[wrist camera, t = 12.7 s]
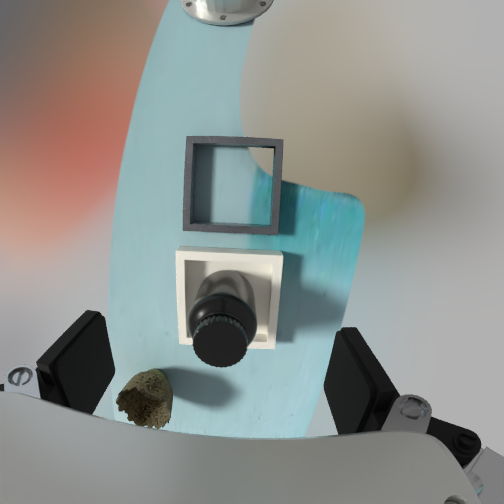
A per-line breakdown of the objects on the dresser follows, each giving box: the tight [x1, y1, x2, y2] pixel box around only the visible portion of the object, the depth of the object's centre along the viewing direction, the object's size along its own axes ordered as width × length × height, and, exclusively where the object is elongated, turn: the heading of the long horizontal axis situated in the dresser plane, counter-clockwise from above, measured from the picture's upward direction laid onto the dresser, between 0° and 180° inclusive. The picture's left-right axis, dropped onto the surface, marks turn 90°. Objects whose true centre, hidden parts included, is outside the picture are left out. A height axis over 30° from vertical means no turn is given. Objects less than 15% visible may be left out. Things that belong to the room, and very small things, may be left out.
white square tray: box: [176, 246, 283, 349], centre depth 35 cm, size 12×12×2 cm
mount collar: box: [183, 136, 283, 235], centre depth 32 cm, size 11×11×2 cm
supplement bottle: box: [188, 270, 257, 368], centre depth 29 cm, size 7×7×12 cm
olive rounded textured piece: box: [116, 369, 173, 429], centre depth 35 cm, size 8×7×8 cm
